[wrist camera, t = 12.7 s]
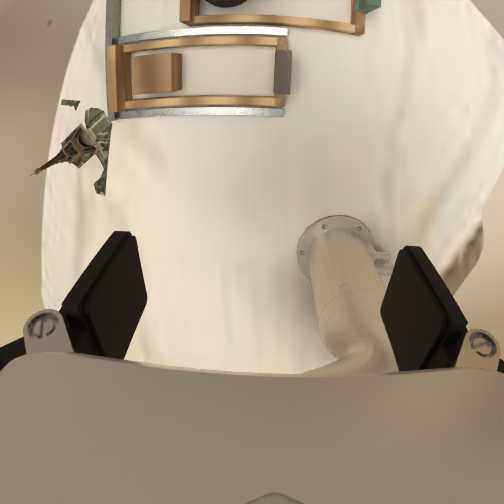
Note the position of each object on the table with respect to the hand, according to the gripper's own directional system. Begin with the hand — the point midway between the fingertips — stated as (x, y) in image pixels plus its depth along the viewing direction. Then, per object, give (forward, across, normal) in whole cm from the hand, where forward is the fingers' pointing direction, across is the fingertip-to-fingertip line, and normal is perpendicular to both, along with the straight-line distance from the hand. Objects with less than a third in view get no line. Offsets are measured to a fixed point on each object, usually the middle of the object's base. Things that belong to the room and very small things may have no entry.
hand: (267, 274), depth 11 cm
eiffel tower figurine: (+35, +28, +4) cm, 45 cm away
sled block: (+34, +9, -6) cm, 36 cm away
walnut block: (+34, +14, -6) cm, 38 cm away
